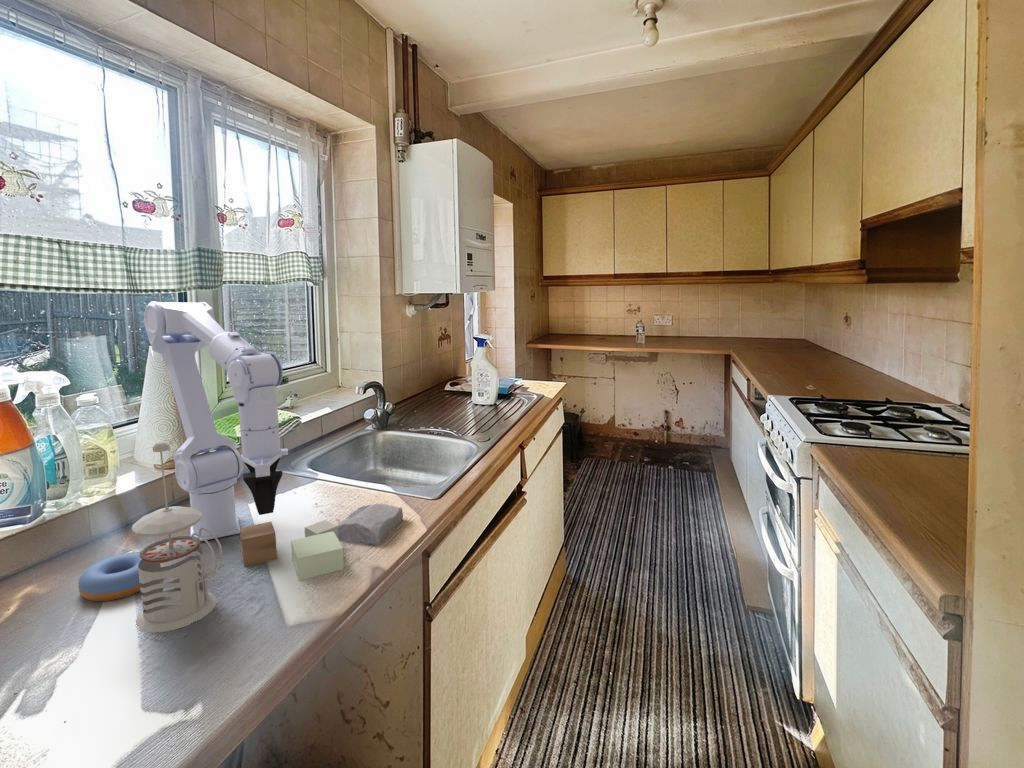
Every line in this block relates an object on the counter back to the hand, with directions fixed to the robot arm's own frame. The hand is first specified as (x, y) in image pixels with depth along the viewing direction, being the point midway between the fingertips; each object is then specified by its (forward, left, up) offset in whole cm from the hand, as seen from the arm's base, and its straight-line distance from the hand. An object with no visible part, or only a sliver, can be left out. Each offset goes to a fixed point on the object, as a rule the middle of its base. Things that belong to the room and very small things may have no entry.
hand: (265, 504), depth 85 cm
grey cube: (0, +9, -10) cm, 13 cm away
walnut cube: (-1, -1, -10) cm, 10 cm away
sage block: (+7, +7, -10) cm, 14 cm away
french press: (+10, -12, -10) cm, 19 cm away
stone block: (-2, +18, -10) cm, 21 cm away
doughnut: (-2, -21, -10) cm, 23 cm away
